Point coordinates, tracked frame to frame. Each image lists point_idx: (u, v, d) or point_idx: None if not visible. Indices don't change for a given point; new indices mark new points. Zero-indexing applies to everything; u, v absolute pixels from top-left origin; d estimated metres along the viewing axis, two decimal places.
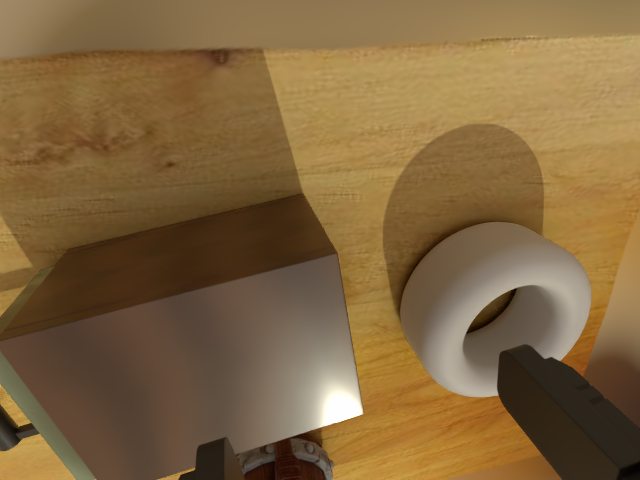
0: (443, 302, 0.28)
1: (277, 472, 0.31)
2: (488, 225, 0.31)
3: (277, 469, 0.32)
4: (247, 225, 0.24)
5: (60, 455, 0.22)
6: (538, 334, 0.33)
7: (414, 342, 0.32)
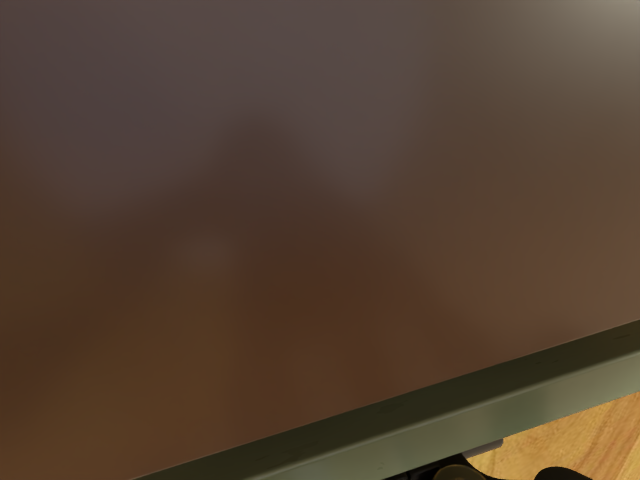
0: None
1: None
2: None
3: None
4: None
5: (564, 412, 0.07)
6: None
7: None
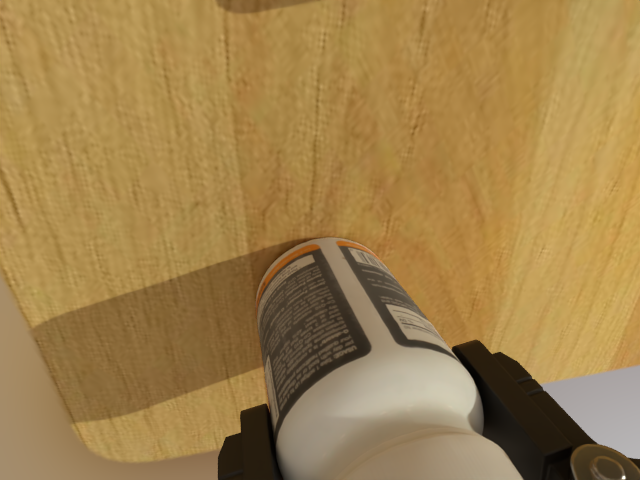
0: None
1: None
2: None
3: None
4: None
5: None
6: None
7: None
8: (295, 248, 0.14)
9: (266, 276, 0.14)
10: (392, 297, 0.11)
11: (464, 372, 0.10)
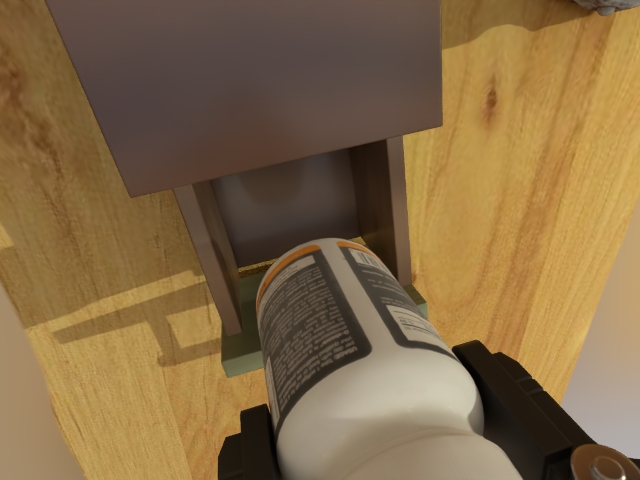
0: None
1: None
2: None
3: None
4: None
5: None
6: None
7: None
8: (295, 249, 0.14)
9: (266, 277, 0.14)
10: (392, 298, 0.11)
11: (464, 373, 0.10)
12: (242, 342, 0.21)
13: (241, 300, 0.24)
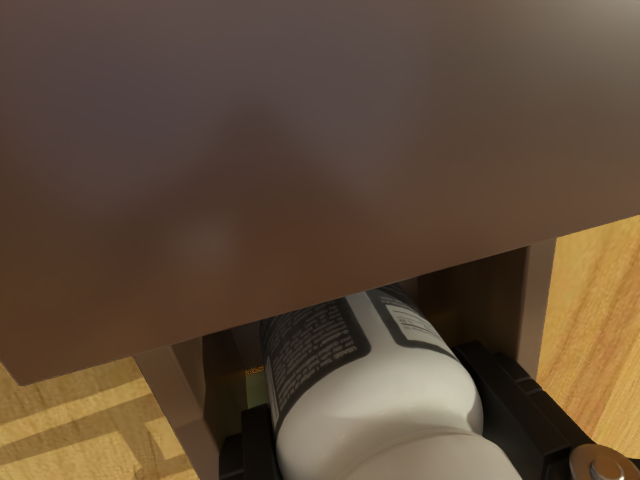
0: None
1: None
2: None
3: None
4: None
5: None
6: None
7: None
8: None
9: None
10: (391, 298, 0.11)
11: (464, 372, 0.10)
12: None
13: None
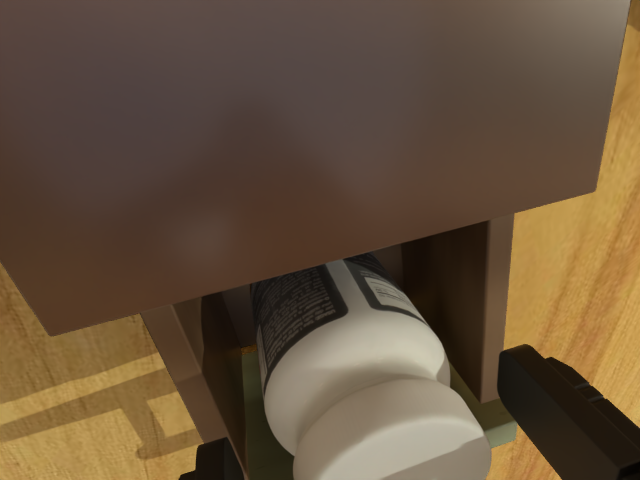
0: None
1: None
2: None
3: None
4: None
5: None
6: None
7: None
8: None
9: None
10: (371, 272, 0.12)
11: (431, 334, 0.11)
12: None
13: (245, 396, 0.17)
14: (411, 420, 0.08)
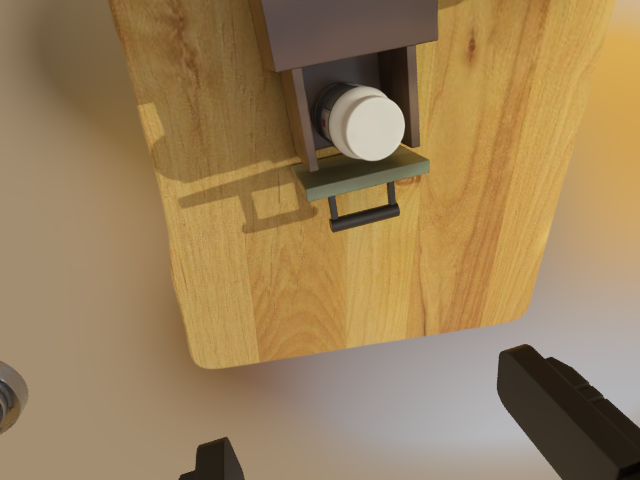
0: None
1: None
2: None
3: None
4: None
5: (399, 177, 0.34)
6: None
7: None
8: (329, 85, 0.35)
9: (317, 96, 0.35)
10: None
11: None
12: (316, 182, 0.33)
13: (308, 170, 0.37)
14: (377, 97, 0.27)
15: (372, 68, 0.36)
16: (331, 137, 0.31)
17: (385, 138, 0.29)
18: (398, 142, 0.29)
